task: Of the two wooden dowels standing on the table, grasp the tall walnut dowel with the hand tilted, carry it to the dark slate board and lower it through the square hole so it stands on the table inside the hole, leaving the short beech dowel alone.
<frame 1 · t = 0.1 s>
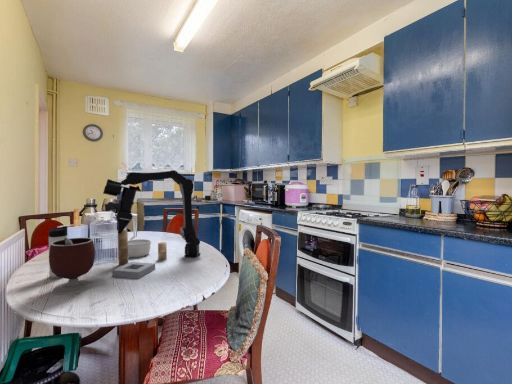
hand: (118, 231, 127), 15 cm above the table, tool pointing down, fingers open, 9 cm apart
mate gourd: (73, 289, 100), on the table
short beech pin: (162, 259, 138), on the table
travel mug: (59, 276, 113), on the table
walnut pin: (123, 264, 129), on the table
socket board: (134, 272, 118), on the table
ramekin: (137, 255, 146), on the table
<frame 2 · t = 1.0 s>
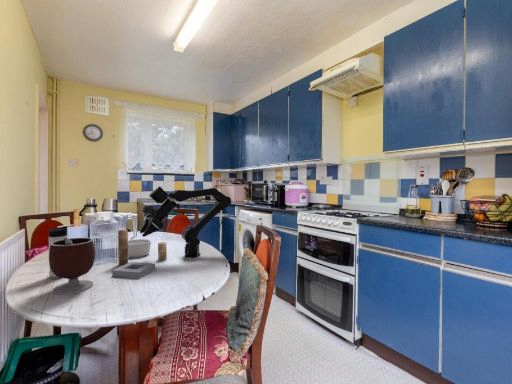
hand: (141, 234, 132), 13 cm above the table, tool tilted 45°, fingers open, 9 cm apart
nothing on the table moved.
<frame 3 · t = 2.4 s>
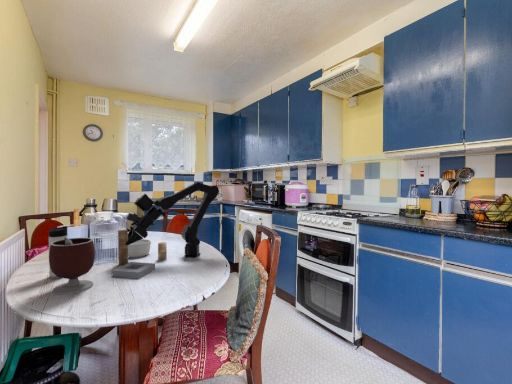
hand: (125, 242, 129), 10 cm above the table, tool tilted 45°, fingers open, 9 cm apart
nothing on the table moved.
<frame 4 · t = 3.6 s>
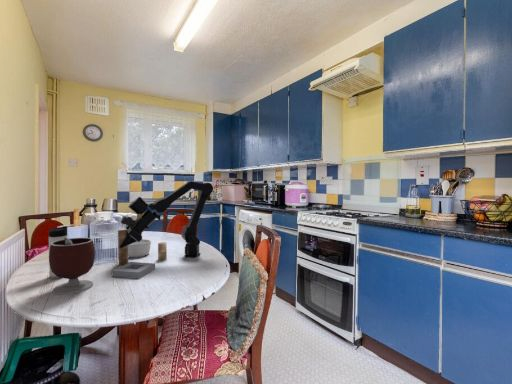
hand: (119, 246, 128), 9 cm above the table, tool tilted 45°, fingers closed on walnut pin, 4 cm apart
walnut pin: (123, 264, 129), on the table, touching gripper
everything else where it was.
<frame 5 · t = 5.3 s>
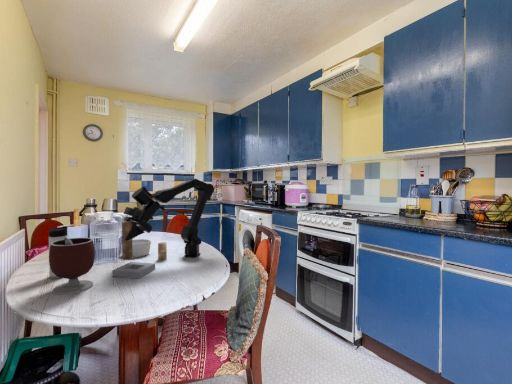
hand: (123, 239, 120), 13 cm above the table, tool tilted 45°, fingers closed on walnut pin, 4 cm apart
walnut pin: (127, 258, 122), point 5 cm above the table, touching gripper
everything else where it was.
when the fingers open (10 cm above the table, at t = 6.9 s): walnut pin drops 1 cm, resting in socket board.
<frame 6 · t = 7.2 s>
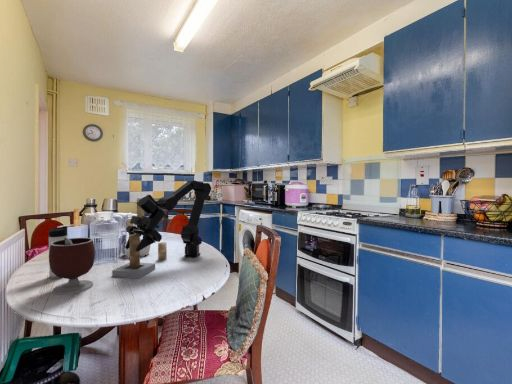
hand: (131, 249, 116), 10 cm above the table, tool tilted 45°, fingers open, 7 cm apart
walnut pin: (134, 272, 118), resting in socket board
everything else where it was.
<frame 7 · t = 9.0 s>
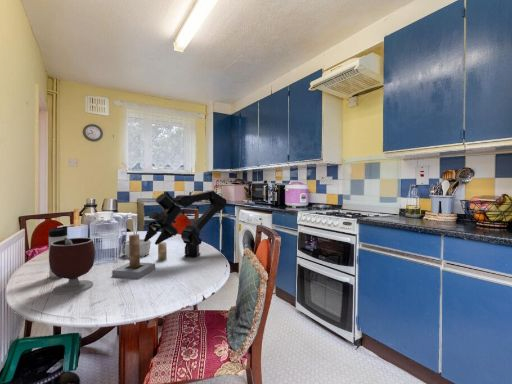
hand: (149, 242, 126), 11 cm above the table, tool tilted 45°, fingers open, 9 cm apart
nothing on the table moved.
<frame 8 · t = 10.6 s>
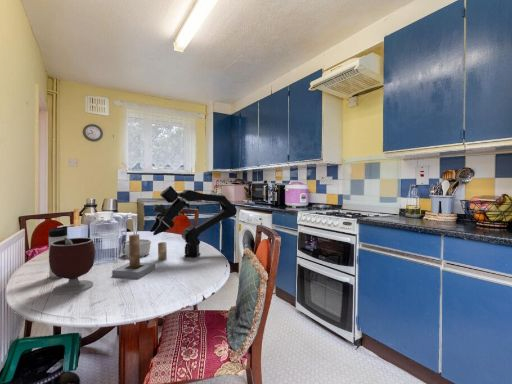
hand: (152, 233, 134), 14 cm above the table, tool tilted 45°, fingers open, 9 cm apart
nothing on the table moved.
at the end: walnut pin 0.1 cm off-centre on the socket board, point 0.0 cm above the socket board's base; walnut pin tilted 0°; the gripper is holding nothing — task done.
